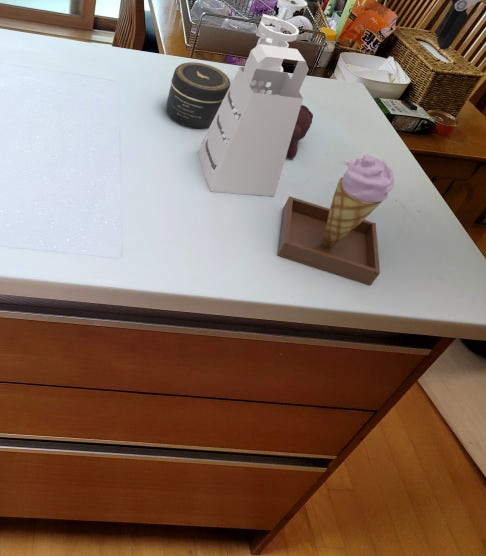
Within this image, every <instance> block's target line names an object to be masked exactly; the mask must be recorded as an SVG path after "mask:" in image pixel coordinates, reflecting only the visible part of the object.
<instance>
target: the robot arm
mask: <svg viewBox="0 0 486 556" xmlns="http://www.w3.org/2000/svg"><path fill="white" fill-rule="evenodd" d="M450 1H451V5H450V7H449V9H448V10H447V12H446V14H445V15H444V17H443V19H442V20H441V23H440V24H439V26H438V27H437V30H436V32H435V36H436V42H437V44H438V47H439V49H440V50H443V51H446V50H448V49H450V46H452V43H453V42H454V40H455V38H456V37H457V35H458V33H459V32H460V30H461V28H462V26H463V25H464V23H465V22H466V20H467V19H468V16H469V14H468V12H467V10H468V9H469V8H470V7H472V6H474V5H476V4H477V3H479V2H481V1H482V0H450Z"/></svg>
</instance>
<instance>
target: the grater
mask: <svg viewBox="0 0 486 556" xmlns="http://www.w3.org/2000/svg"><path fill="white" fill-rule="evenodd" d="M266 57H274V58H282V59H283V60H290V61H297V62H296V66H295V68H294V70H293V73H292V75H291V77H290V75H289V73H288V72H287V71H286V72H285V71H283V72H278V71H270V70H262V69H256V67H257V64H258V63H259V62H260V61H262V60H263V59H264V58H266ZM247 59H248V60H247ZM247 59H246V61H247V63H246V62H245V64H246V66H245V65H244V66H239V67H238V70H237V71H236V73H235V76H234V77H233V79H232V81H231V82H230V87H229V89H228V91H227V93H226V95H225V97H224V99H223V101H222V103H221V105H220V107H219V109H218V111H217V113H216V115H215V117H214V119H213V121H212V123H211V125H210V126H209V127H208V129H207V131H206V133H205V136H204V137H203V139H202V141H201V143H200V146H199V148H198V150H197V155H198V158H199V161H200V164H201V168H202V170H203V173H204V176H205V180H206V183H207V185H208V188H209V192H213V193H225V194H237V195H251V196H263V197H275V196H276V192H277V189H278V186H279V183H280V179H281V175H282V171H283V168H284V165H285V161H286V158H287V156H288V155H287V152H288V148H289V145H290V141H291V138H292V135H293V131H294V128H295V124H296V121H297V118H298V114H299V111H300V107H301V105H303V101H304V97H303V96H302V94H301V93H300V90H301V88H302V87H303V84H304V81H305V80H306V77H307V74H308V72H309V70H310V69H309V66H308V63H307V61H306V60H305V58H304V57H303V55H302V54H301V53H300V51H299V50H298V49H297V48H293V47H288V48H285V47H278V46H270V45H263V44H259V45H258V46H255V47H253V48H251V50H250V52H249V55H248V57H247ZM253 80H255V81H256V82H257V83H256V85H253V86H252V85H251V82H252V81H253ZM260 81H263V82H264V85H263V86H259V85H258V83H259V82H260ZM266 83H267V84H268V83H270V86H267V84H266ZM265 85H266V86H265ZM255 88H256V89H257V90H258V91H257V93H253V92H252V90H253V89H255ZM262 89H264V92H263V94H260V93H259V91H260V90H262ZM269 91H271V93H270V94H267V92H269ZM234 109H235V111H236V112H234V111H233V110H234ZM236 116H238V117H237V118H236ZM223 135H224V137H223ZM225 140H228V141H227V142H225ZM209 154H210V157H211V159H212V162H213V164H214V165H216V166H215V168H213V166H212V163H211V160H210V158H209Z"/></svg>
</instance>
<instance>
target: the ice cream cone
mask: <svg viewBox="0 0 486 556" xmlns="http://www.w3.org/2000/svg"><path fill="white" fill-rule="evenodd" d="M343 165H344V166H347V167H348V169H347V170H345V172H344V174H343V175H342V176H341V177H340V178H339V180H338V181H337V182H338V183H337V186H336V188H335V191H334V193H333V196H332V201H331V204H330V206H329V207H330V208H329V209H330V211H329V216H328V220H327V224H326V229H325V234H324V239H323V245H324V246H325V247H328V248H331V247H332V246H334V245H335V244H336V243H337V242H338V241H340V240H341V239H342V238H343V237H345V236H346V235H347V234H348V233H349V232H351V231H352V230H353V229H354V228H355V227H356V226H358V225H359V224H360V223H361V222H362V221H363V220H366V218H368V217H369V216H370V214H371V213H373V212H374V211H375V210H376V209H377V208H378V206H380V205H381V203H383V202H384V201H386V200H387V199H388V197H389V193H390V192H391V191H392V190H393V188H394V185H395V179H394V178H395V177H394V172H393V170H392V169H391V167H389V166H388V164H387V162H386V161H382V160H380V159H379V158H377V157H374V156H372V155H369V154H364V155H363V156H362V158H356V159H355V161H354V160H347V161H343Z"/></svg>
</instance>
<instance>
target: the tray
mask: <svg viewBox="0 0 486 556" xmlns="http://www.w3.org/2000/svg"><path fill="white" fill-rule="evenodd" d="M329 211H330V208H328V207H325V206H322V205H319V204H315V203H313V202H309V201H306V200H303V199H300V198H297V197H293V196H288V198H287V200H286V201H285V204H284V206H283V208H282V215H281V223H280V232H279V240H278V241H279V242H278V249H277V256H278V257H281V258H285V259H288V260H290V261H294V262H297V263H300V264H303V265H306V266H310V267H313V268H316V269H318V270H322V271H324V272H325V271H326V272H328V273H331V274H334V275H338V276H340V277H343V278H345V279H346V278H347V279H350V280H353V281H356V282H359V283H362V284H365V285H369V286H372V284H373V283H374V282H375V280H376V279H377V278H378V277H379V275H380V273H381V269H380V258H379V257H380V256H379V246H378V234H377V223H376V222H373V221H370V220H367V219H364V220H363V221H362V222H361V223H360V224H359V225H358V226H356V227H355V228H354V229H353V230H352V231H351V232H349V233H348V234H347V235H346V236H345V237H343V238H342V239H341V240H340V241H338V242H337V243H336V244H335V245H334V246H332V247H331V248H328V247H325V246H324V245H323V239H324V234H325V229H326V224H327V220H328V216H329Z"/></svg>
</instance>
